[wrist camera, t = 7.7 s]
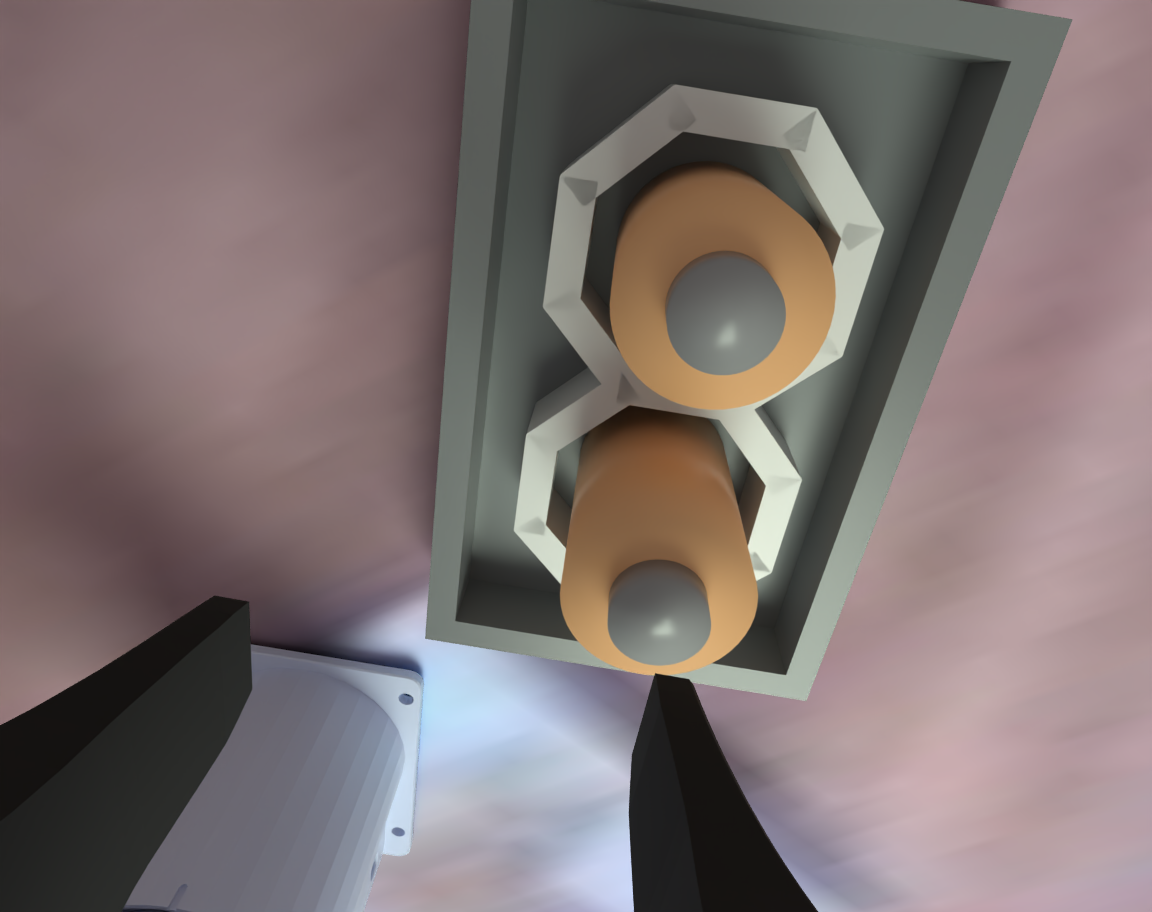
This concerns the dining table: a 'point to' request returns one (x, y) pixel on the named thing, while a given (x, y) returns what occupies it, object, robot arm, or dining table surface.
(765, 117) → the housing
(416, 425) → the dining table surface
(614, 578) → the orange battery
